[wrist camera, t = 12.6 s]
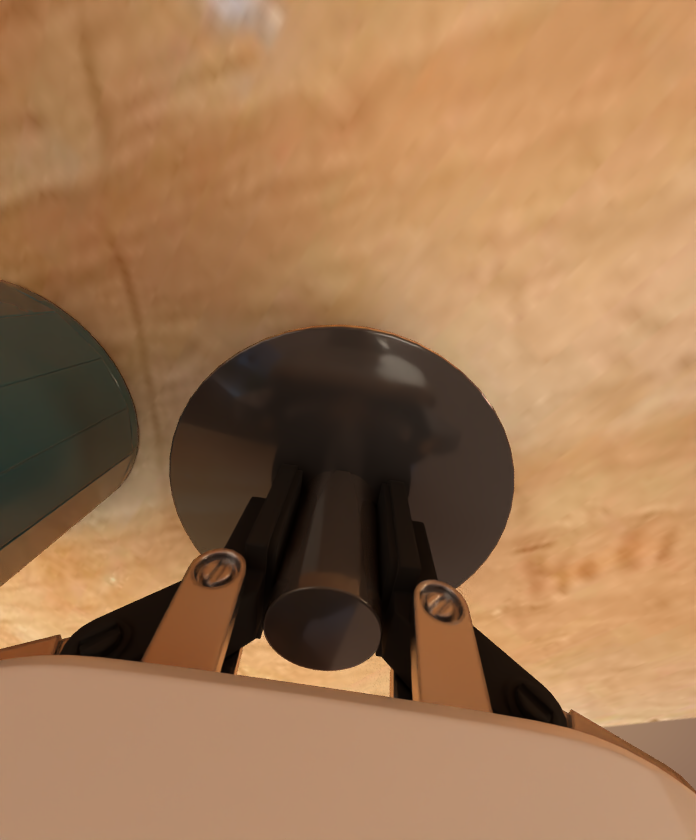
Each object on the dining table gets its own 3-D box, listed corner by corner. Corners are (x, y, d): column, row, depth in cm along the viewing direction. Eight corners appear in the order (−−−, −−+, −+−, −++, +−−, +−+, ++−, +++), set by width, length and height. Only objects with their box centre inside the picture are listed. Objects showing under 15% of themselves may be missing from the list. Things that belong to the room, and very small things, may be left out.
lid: (189, 577, 16) (89, 744, 10) (178, 294, 11) (-26, 304, 5) (453, 616, 16) (502, 803, 10) (552, 354, 11) (752, 427, 5)
